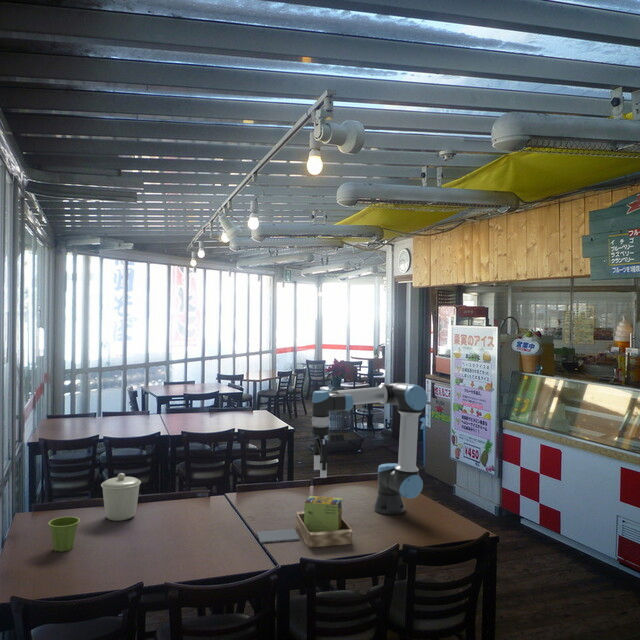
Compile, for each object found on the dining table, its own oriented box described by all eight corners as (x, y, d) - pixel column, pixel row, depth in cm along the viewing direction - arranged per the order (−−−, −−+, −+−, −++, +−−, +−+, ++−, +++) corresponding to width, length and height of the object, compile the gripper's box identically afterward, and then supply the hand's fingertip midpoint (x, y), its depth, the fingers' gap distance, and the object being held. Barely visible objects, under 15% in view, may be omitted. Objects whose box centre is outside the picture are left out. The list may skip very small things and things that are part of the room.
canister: (92, 520, 270) (92, 475, 270) (118, 509, 287) (119, 467, 287) (122, 526, 263) (123, 480, 263) (148, 514, 280) (149, 470, 280)
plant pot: (59, 556, 228) (59, 528, 228) (41, 550, 234) (42, 522, 235) (85, 547, 238) (85, 519, 238) (68, 541, 244) (68, 514, 245)
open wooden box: (334, 521, 271) (335, 509, 271) (353, 545, 242) (354, 531, 242) (295, 525, 267) (295, 512, 267) (309, 549, 238) (309, 535, 238)
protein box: (338, 540, 248) (338, 504, 248) (303, 537, 251) (303, 502, 251) (342, 532, 258) (342, 497, 258) (308, 529, 261) (309, 495, 261)
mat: (294, 530, 259) (294, 528, 260) (299, 540, 248) (299, 538, 248) (256, 533, 255) (256, 531, 255) (260, 543, 244) (260, 541, 244)
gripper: (306, 421, 268) (306, 467, 268) (318, 431, 243) (317, 481, 243) (322, 420, 269) (322, 466, 269) (335, 430, 245) (334, 480, 245)
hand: (320, 473), depth 256 cm, fingers open, 13 cm apart
